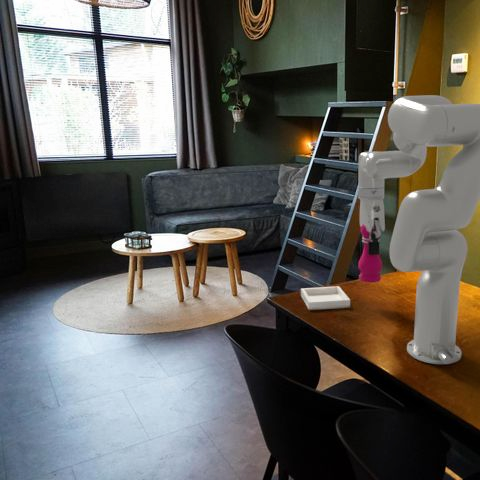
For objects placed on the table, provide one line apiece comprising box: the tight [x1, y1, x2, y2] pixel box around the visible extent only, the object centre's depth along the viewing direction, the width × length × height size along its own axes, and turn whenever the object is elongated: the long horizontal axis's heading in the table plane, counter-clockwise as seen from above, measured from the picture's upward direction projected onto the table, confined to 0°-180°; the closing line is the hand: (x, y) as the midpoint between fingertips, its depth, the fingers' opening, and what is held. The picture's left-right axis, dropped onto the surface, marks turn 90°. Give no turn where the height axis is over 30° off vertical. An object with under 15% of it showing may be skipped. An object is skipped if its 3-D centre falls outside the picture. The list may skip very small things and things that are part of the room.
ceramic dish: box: [300, 285, 351, 311], centre depth 158 cm, size 13×13×2 cm
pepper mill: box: [357, 224, 383, 283], centre depth 150 cm, size 7×7×20 cm
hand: (370, 251), depth 151 cm, fingers closed on pepper mill, 5 cm apart
